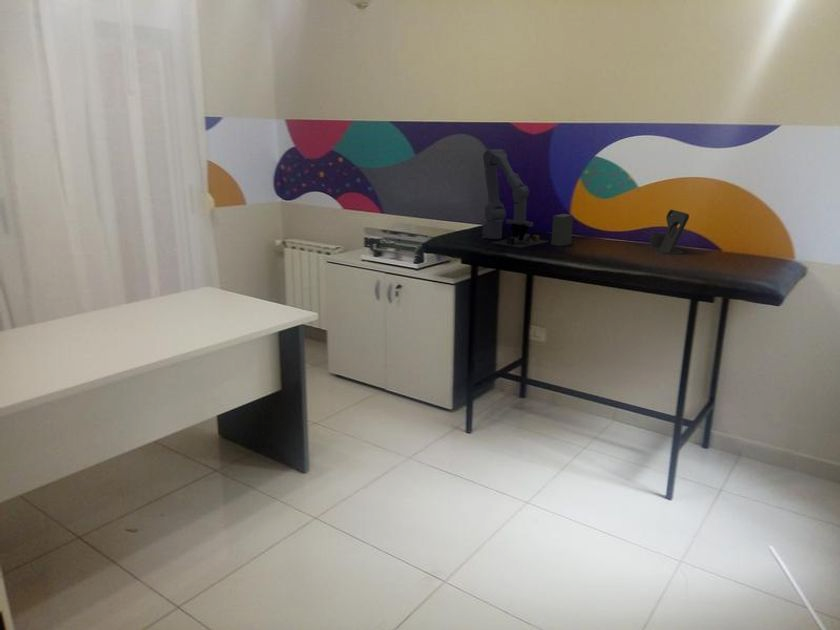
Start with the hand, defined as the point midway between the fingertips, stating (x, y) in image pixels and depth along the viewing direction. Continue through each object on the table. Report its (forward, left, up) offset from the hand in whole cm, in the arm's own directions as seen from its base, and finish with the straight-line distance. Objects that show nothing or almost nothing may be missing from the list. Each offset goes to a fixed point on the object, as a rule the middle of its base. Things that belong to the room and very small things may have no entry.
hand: (518, 240), depth 294 cm
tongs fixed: (0, 0, -1) cm, 1 cm away
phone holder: (+57, +37, -2) cm, 68 cm away
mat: (-1, +2, -2) cm, 3 cm away
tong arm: (+1, -1, -1) cm, 2 cm away
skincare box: (+17, +11, -2) cm, 20 cm away
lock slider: (+3, +11, -1) cm, 11 cm away
